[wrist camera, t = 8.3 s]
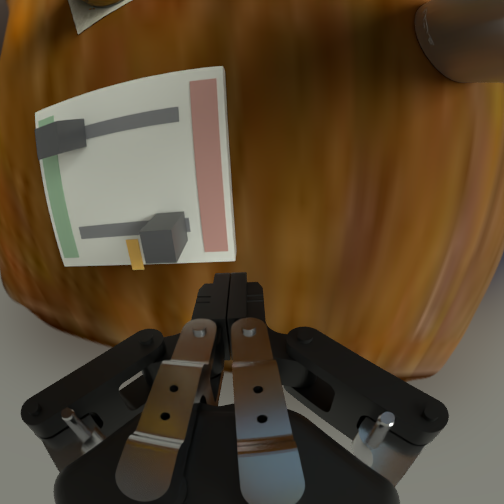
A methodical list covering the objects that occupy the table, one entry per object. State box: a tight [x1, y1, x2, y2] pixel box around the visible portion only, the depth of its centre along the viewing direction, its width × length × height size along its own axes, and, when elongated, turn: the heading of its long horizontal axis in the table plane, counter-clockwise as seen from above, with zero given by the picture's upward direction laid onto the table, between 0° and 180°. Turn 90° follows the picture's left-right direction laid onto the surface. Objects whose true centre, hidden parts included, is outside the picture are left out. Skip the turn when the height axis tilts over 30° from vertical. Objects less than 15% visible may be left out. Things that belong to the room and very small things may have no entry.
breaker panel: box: [35, 66, 236, 270], centre depth 22 cm, size 18×16×2 cm
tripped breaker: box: [139, 211, 188, 264], centre depth 21 cm, size 2×2×4 cm
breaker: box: [35, 119, 87, 160], centre depth 17 cm, size 2×2×4 cm
